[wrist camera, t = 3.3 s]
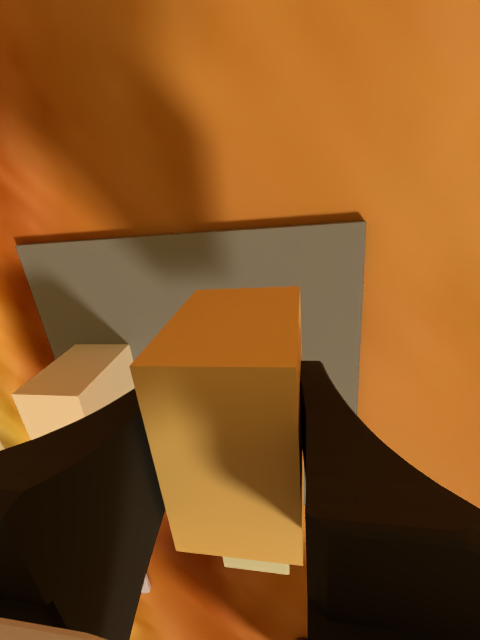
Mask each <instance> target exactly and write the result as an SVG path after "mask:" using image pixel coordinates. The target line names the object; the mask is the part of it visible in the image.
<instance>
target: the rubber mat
mask: <svg viewBox="0 0 480 640" xmlns="http://www.w3.org/2000/svg"><path fill="white" fill-rule="evenodd" d="M365 237H366V221H352V222H337V223H323V224H308V225H294V226H279V227H265V228H250V229H236V230H221V231H207V232H192V233H178V234H163V235H149V236H134V237H119V238H105V239H90V240H76V241H61V242H47V243H32V244H20V245H17V246H16V249H17V252H18V255H19V258H20V260H21V263H22V266H23V269H24V272H25V275H26V278H27V281H28V283H29V286H30V289H31V292H32V295H33V298H34V301H35V303H36V306H37V309H38V312H39V315H40V318H41V321H42V323H43V326H44V329H45V332H46V335H47V338H48V341H49V343H50V346H51V349H52V352H53V355H54V358H55V360H56V359H57V358H59V357H60V356H61V355H62V354H64V353H65V352H66V351H68V350H69V349H70V348H71V347H73V346H74V345H75V344H129V346H130V350H131V354H132V358H133V361H134V360H135V359H136V358H137V357H138V356H139V354H140V353H141V352H142V351H143V350H144V349H145V348H146V346H147V345H148V344H149V343H150V342H151V341H152V340H153V338H154V337H155V336H156V335H157V334H158V333H159V332H160V330H161V329H162V328H163V327H164V326H165V325H166V324H167V323H168V321H169V320H170V319H171V318H172V317H173V316H174V315H175V313H176V312H177V311H178V310H179V309H180V308H181V307H182V305H183V304H184V303H185V302H186V301H187V300H188V299H189V297H190V296H191V295H192V294H193V293H194V292H195V291H196V290H206V289H234V288H261V287H289V286H300V306H301V343H302V361H320V362H322V363H323V365H324V368H325V370H326V372H327V374H328V376H329V377H330V379H331V381H332V383H333V384H334V386H335V387H336V389H337V390H338V392H339V393H340V394H341V396H342V397H343V399H344V400H345V401H346V403H347V404H348V405H349V407H350V408H351V409H352V410H353V411H354V413H355V414H356V415H357V402H358V381H359V361H360V340H361V319H362V299H363V278H364V258H365ZM305 503H306V480H305V470H304V505H305Z"/></svg>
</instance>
